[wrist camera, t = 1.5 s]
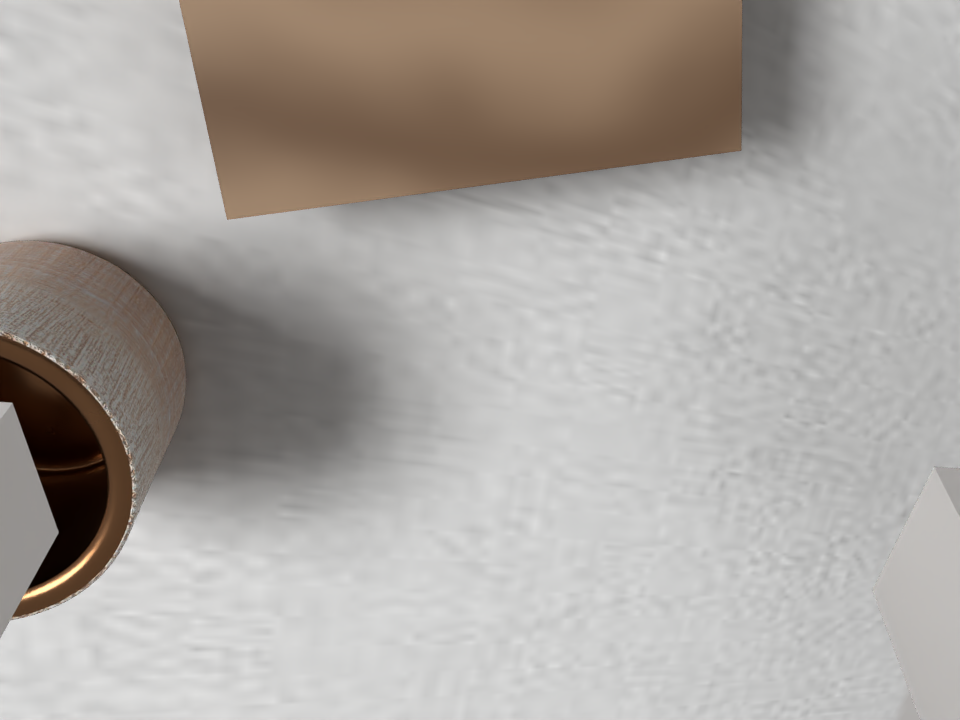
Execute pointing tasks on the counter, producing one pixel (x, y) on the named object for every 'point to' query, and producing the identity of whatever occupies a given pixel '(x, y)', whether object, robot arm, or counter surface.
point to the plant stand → (454, 92)
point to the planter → (85, 401)
